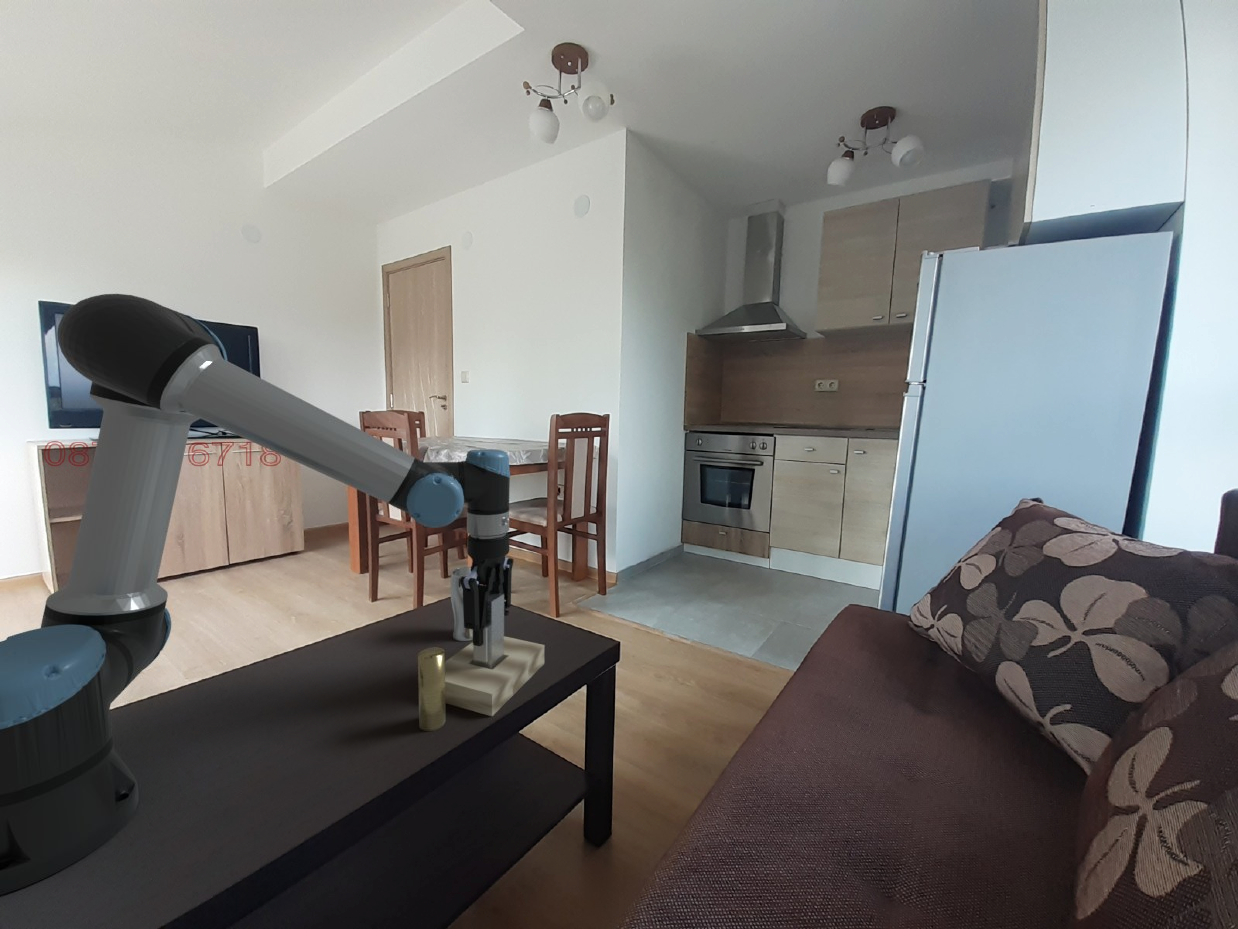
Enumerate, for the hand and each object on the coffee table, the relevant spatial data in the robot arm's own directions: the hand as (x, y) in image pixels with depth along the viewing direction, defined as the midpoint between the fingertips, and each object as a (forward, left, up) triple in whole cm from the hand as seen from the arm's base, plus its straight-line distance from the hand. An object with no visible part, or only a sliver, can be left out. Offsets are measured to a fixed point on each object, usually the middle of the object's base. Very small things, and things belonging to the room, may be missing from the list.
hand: (488, 653), depth 89 cm
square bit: (0, 0, -3) cm, 3 cm away
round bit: (-14, +1, -5) cm, 15 cm away
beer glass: (+13, +15, -5) cm, 21 cm away
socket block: (0, 0, -5) cm, 5 cm away
